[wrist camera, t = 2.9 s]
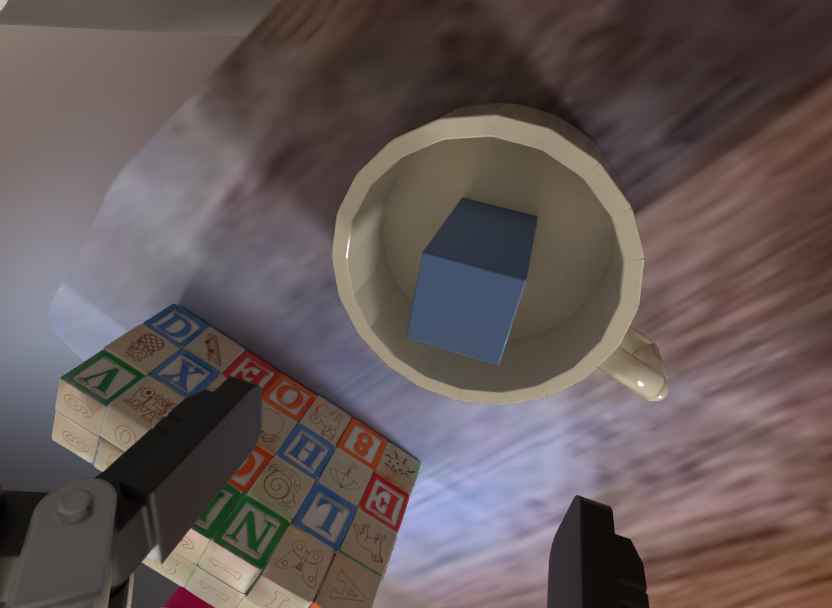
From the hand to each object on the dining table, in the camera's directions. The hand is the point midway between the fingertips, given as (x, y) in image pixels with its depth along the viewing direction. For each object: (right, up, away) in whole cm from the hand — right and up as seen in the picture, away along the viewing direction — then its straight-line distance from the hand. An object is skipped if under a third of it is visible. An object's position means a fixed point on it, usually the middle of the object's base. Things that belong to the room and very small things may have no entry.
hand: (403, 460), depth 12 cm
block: (+4, +7, +14) cm, 16 cm away
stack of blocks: (-9, -4, +25) cm, 27 cm away
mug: (+6, +6, +14) cm, 17 cm away
